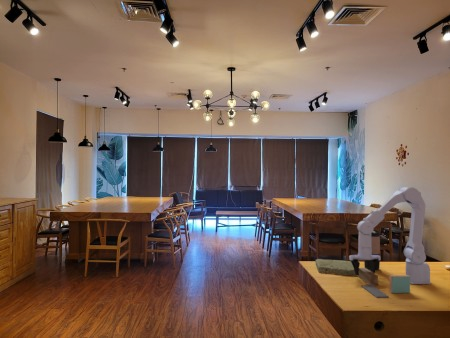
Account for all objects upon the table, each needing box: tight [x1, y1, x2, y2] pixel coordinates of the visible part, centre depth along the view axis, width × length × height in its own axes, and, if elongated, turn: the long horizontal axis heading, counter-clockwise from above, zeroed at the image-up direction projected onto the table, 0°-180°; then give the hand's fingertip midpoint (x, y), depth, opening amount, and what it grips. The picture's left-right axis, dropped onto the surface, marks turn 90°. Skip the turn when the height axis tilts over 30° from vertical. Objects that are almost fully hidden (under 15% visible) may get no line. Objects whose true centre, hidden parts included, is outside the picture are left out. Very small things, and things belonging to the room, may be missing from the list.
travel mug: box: [363, 229, 381, 272], centre depth 171 cm, size 8×8×20 cm
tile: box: [388, 274, 411, 294], centre depth 137 cm, size 8×2×7 cm, turn 93°
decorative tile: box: [315, 258, 358, 277], centre depth 169 cm, size 19×20×4 cm
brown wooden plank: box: [357, 267, 379, 287], centre depth 151 cm, size 4×12×4 cm, turn 3°
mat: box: [361, 284, 389, 299], centre depth 138 cm, size 5×13×1 cm, turn 3°
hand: (364, 275), depth 154 cm, fingers open, 7 cm apart
